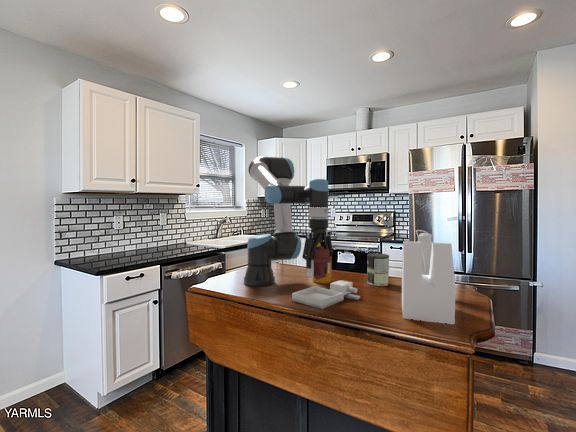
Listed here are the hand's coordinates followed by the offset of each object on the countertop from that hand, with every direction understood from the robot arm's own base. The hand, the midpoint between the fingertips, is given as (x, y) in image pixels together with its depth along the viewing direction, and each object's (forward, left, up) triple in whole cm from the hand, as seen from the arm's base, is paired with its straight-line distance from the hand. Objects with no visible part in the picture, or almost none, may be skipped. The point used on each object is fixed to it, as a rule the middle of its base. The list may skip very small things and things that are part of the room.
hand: (318, 274), depth 121 cm
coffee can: (+5, +43, -11) cm, 44 cm away
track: (+5, +13, -10) cm, 17 cm away
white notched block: (+36, +16, -11) cm, 41 cm away
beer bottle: (-17, +27, -11) cm, 33 cm away
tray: (0, 0, -10) cm, 10 cm away
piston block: (+5, +13, -9) cm, 16 cm away
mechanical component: (0, 0, -1) cm, 1 cm away
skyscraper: (+28, +40, -11) cm, 50 cm away
